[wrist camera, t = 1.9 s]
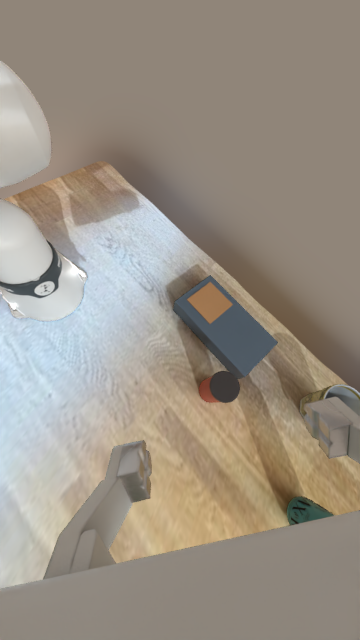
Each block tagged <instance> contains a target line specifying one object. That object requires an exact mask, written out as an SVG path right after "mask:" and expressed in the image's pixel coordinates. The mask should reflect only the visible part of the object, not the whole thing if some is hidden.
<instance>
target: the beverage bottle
mask: <svg viewBox="0 0 360 640" xmlns="http://www.w3.org/2000/svg"><path fill="white" fill-rule="evenodd" d="M331 516H334V515H333V513H332V514H331V512H328V510H327V509H324V508H323V507H321V506H320V505H318V504H315V502H314V503H313V501H310V499H307V497H306V498H304V497H303V496H300V497H295V498H293V499H292V500H291V501H290V503H289V505H288V508H287V518H288V522H289V524H290V525H295V524H299V523H304V522H308V521H313V520H318V519H322V518H327V517H331Z"/></svg>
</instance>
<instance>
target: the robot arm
mask: <svg viewBox="0 0 360 640" xmlns="http://www.w3.org/2000/svg"><path fill="white" fill-rule="evenodd" d="M51 153H52V142H51V135H50V130H49V126H48V123H47V120H46V118H45V115H44V113H43V112H42V109H41V107H40V105H39V103H38V102H37V100H36V98H35V97H34V95H33V94H32V92H31V91H30V90H29V88H28V87H27V86H26V85H25V83H24V82H23V81H22V80H21V79H20V78H19V77H18V76H17V75H16V74H15V73H14V72H13V71H12V70H11V69H10V68H9V67H8V66H7V65H6V64H4V63H3V62H2V61H1V60H0V188H3V187H7V186H10V185H14V184H18V183H20V182H22V181H24V180H25V179H27V178H29V177H31V176H33V175H35V174H37V173H38V172H40V171H42V170H43V169H45V168H47V167H48V166H49V163H50V159H51ZM78 273H80V274H78ZM87 278H88V276H87V274H86V273H85V272H84V271H83V270H82V269H80V268H79V267H78V266H76V265H75V264H74V263H73V262H71V261H70V260H69V259H67V258H66V257H65V256H64V255H62V254H61V253H60V252H58V251H57V250H56V249H55V248H54V247H53V246H52V245H51V244H50V243H49V242H48V241H47V240H46V239H45V238H44V236H43V234H42V233H41V231H40V230H39V228H38V226H37V225H36V223H35V222H34V220H33V219H32V217H31V216H30V215H29V214H28V213H27V212H25V211H24V210H23V209H21V208H20V207H18V206H16V205H15V204H13V203H11V202H9V201H6V200H3V199H0V294H3V295H2V297H3V298H4V299H5V300H6V301H7V302H8V305H9V308H10V310H11V313H12V315H13V316H14V317H15V318H17V319H25V318H31V319H35V320H39V321H56V320H59V319H62V318H64V317H66V316H68V315H70V314H71V313H72V312H73V311H75V310H76V308H77V307H78V306H79V304H80V303H81V301H82V298H83V290H84V284H85V282H86V280H87ZM16 309H17V310H16ZM304 410H305V412H306V415H305V416H304V422H305V425H306V428H307V430H308V431H309V433H310V434H311V436H312V437H313V438H315V439H317V440H319V446H320V448H321V449H322V450H323V452H324V453H325V454H326V456H327V457H328V458H335V457H340V456H345V455H348V456H349V457H350V458H352V459H353V460H355V461H356V462H358V463H360V417H359V416H358V415H357V414H356V413H355V412H354V411H353V410H351V409H350V408H349V407H348V406H347V405H346V404H345V403H344V402H342V401H341V400H340V399H339V398H338V397H331V398H327V399H322V400H318V401H314V402H310V403H306V404H305V405H304ZM151 473H152V464H151V457H150V453H149V451H147V450H146V443H145V441H138V442H133V443H127V444H123V445H118V446H114V448H113V449H112V453H111V457H110V461H109V465H108V469H107V473H106V477H105V480H102V481H101V482H100V483H99V485H98V486H97V487H96V489H95V490H94V491H93V492H92V494H91V495H90V496H89V498H88V499H87V500H86V501H85V503H84V504H83V505H82V507H81V508H80V509H79V510H78V512H77V513H76V514H75V516H74V517H73V518H72V519H71V521H70V522H69V523H68V525H67V526H66V527H65V528H64V530H63V531H62V532H61V533H60V535H59V537H58V540H57V542H56V545H55V548H54V551H53V553H52V556H51V559H50V562H49V565H48V567H47V570H46V573H45V576H44V578H43V580H38V581H34V582H29V583H25V584H20V585H15V586H11V587H6V588H2V589H0V640H360V510H359V511H354V512H350V513H345V514H341V515H336V516H331V517H327V518H322V519H318V520H313V521H308V522H304V523H299V524H295V525H290V526H286V527H281V528H276V529H272V530H267V531H263V532H258V533H254V534H249V535H244V536H240V537H235V538H231V539H226V540H222V541H217V542H213V543H208V544H203V545H199V546H194V547H190V548H185V549H181V550H176V551H171V552H167V553H162V554H158V555H153V556H149V557H144V558H139V559H135V560H130V561H126V562H121V563H117V564H116V562H115V561H114V559H113V557H112V556H111V554H110V552H109V551H108V550H109V548H110V546H111V545H112V543H113V541H114V539H115V537H116V535H117V533H118V531H119V529H120V527H121V525H122V523H123V521H124V519H125V517H126V515H127V513H128V511H129V510H130V508H131V506H132V503H133V502H137V501H141V500H145V499H149V498H150V490H151V482H150V479H149V476H150V475H151Z"/></svg>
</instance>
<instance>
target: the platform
mask: <svg viewBox="0 0 360 640" xmlns="http://www.w3.org/2000/svg"><path fill="white" fill-rule="evenodd" d="M173 310H174V311H175V313H176V314H177V315H178V316H179V317H180V318H181V319H182V320H183V321H184V322H185V324H186V325H187V326H188V327H189V328H190V329H191V330H192V331H193V332H194V333H195V334H196V336H197V337H198V338H199V339H200V340H201V341H202V342H203V343H204V344H205V345H206V347H207V348H208V349H209V350H210V351H211V352H212V353H213V354H214V355H215V356H216V358H217V359H218V360H219V361H220V362H221V363H222V364H223V365H224V366H225V367H226V368H227V370H228V371H229V372H230V373H232V374H233V375H234V376H235V377H236V378H237V379H240V378H243V377H245V376H246V375H247V374H248V373H249V372H250V371H251V370H252V369H253V368H254V367H255V366H256V365H257V364H258V363H259V362H260V361H261V360H262V359H263V358H264V357H265V356H266V355H267V353H268V352H269V351H270V350H271V349H272V348H273V347H274V346H275V345H276V344H277V343H278V342H277V341H276V340H275V339H274V338H273V337H272V336H271V335H270V334H269V333H268V332H267V331H266V330H265V329H264V328H263V327H262V326H261V325H260V324H259V323H258V322H257V321H256V320H255V319H254V318H253V317H252V316H251V315H250V314H249V313H248V312H247V311H246V310H245V309H244V308H243V307H242V306H241V305H240V304H239V303H238V302H237V301H236V300H235V299H234V298H233V297H232V296H231V295H230V294H229V293H228V292H227V291H226V290H225V289H224V288H223V287H222V286H221V285H220V284H219V283H218V282H217V281H216V280H215V279H214V278H213V277H212V276H211V275H210V276H208V277H207V278H206V279H204V280H203V281H202V282H200V283H199V284H198V285H196V286H195V287H194V288H192V289H191V290H189V291H188V292H187V293H185V294H184V295H183V296H181V297H180V298H179V299H177V300H176V301H175V303H174V308H173Z"/></svg>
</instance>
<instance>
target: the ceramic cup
mask: <svg viewBox="0 0 360 640" xmlns="http://www.w3.org/2000/svg"><path fill="white" fill-rule="evenodd" d="M331 397H338V398H339V399H340V400H341V401H342V402H344V403H345V404H346V405H347V406H348V407H349V408H350V409H351V410H353V411H354V412H355V413H356V414H357V415H358V416H359V417H360V393H359V392H358V391H357V390H355V389H354V388H352V387H350V386H348V385H343V384H337V385H333V386H329V387H327V388H324V389H323V390H320V391H317V392H315V393H312V394H309V395H307V396H306V397H304V398H303V399H301V401H300V410H299V411H300V413H301V415H302V417H303V418H304V416H305V415H306V412H305V410H304V405H305V404H306V403H310V402H314V401H318V400H322V399H327V398H331Z"/></svg>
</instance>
